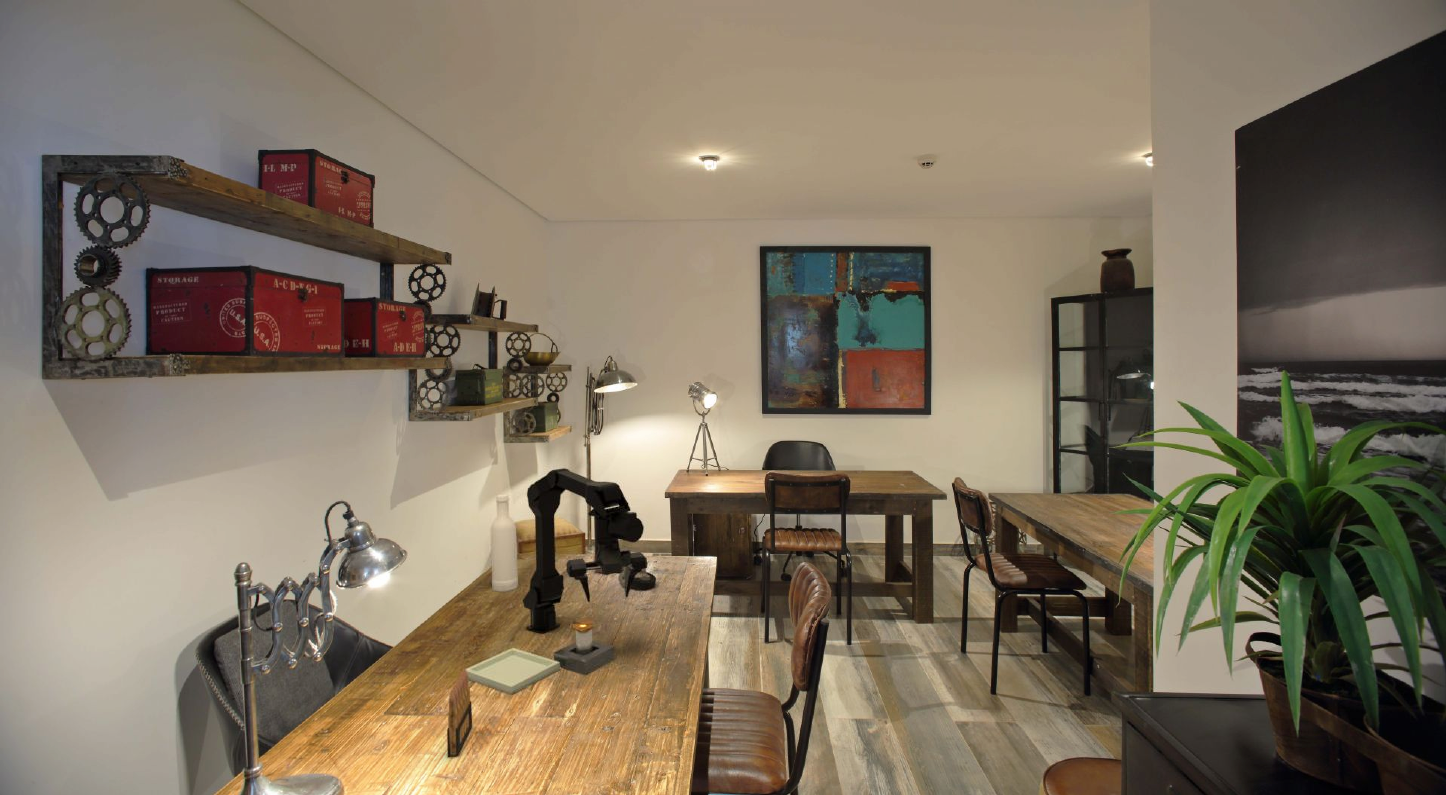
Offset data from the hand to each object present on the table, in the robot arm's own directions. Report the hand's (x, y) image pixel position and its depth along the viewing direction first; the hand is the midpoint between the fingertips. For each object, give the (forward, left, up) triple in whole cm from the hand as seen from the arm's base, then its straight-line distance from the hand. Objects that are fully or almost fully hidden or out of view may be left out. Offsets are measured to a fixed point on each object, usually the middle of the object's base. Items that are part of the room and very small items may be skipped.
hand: (607, 599), depth 163 cm
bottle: (-63, +21, -14) cm, 68 cm away
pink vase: (-47, +50, -14) cm, 70 cm away
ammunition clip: (+2, -43, -14) cm, 46 cm away
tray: (-12, -19, -14) cm, 27 cm away
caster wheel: (-27, +44, -14) cm, 53 cm away
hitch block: (-2, -6, -14) cm, 15 cm away
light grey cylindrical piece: (-2, -6, -14) cm, 15 cm away
